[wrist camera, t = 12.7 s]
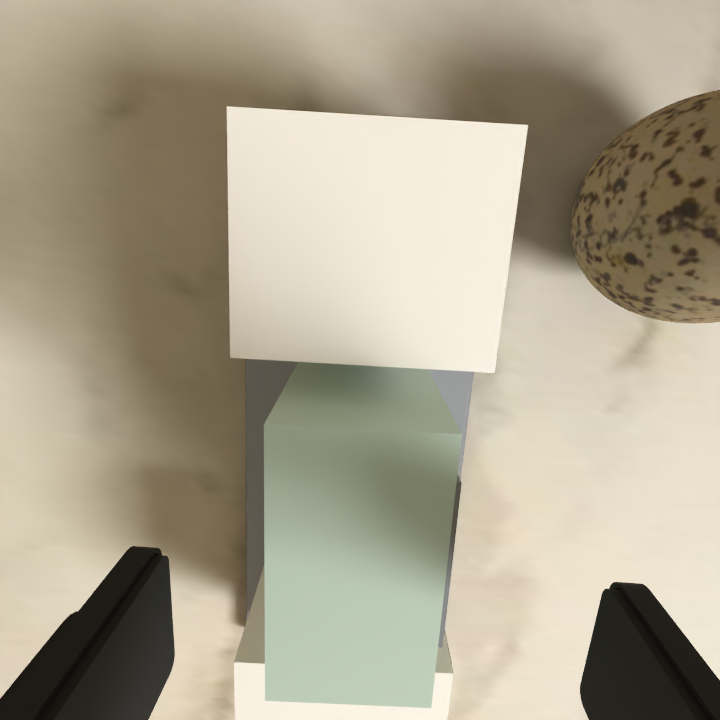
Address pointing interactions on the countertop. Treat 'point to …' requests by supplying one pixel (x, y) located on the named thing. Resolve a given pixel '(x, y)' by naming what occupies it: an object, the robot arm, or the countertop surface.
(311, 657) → the block
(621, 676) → the robot arm
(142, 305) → the countertop surface
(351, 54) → the countertop surface
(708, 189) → the decorative egg
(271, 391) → the board
